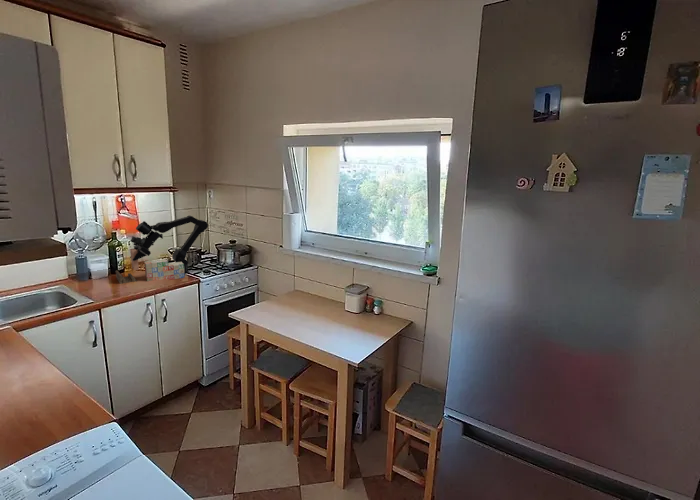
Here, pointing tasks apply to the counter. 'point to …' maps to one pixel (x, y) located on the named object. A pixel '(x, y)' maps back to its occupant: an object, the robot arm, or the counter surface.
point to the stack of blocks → (163, 270)
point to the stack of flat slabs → (124, 278)
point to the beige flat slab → (135, 263)
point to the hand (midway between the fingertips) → (131, 259)
